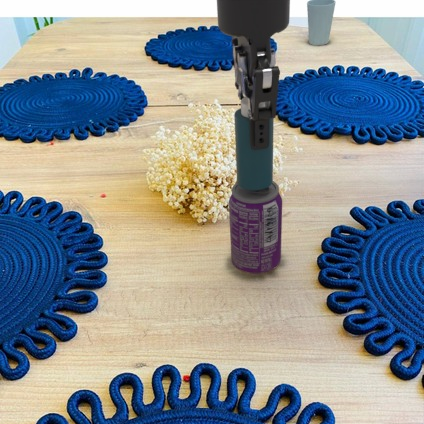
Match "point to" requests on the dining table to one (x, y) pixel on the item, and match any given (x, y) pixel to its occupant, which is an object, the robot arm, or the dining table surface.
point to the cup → (320, 20)
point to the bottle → (252, 153)
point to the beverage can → (255, 228)
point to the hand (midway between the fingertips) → (254, 138)
